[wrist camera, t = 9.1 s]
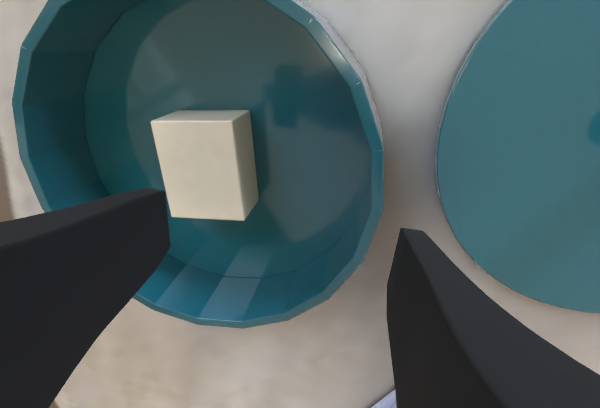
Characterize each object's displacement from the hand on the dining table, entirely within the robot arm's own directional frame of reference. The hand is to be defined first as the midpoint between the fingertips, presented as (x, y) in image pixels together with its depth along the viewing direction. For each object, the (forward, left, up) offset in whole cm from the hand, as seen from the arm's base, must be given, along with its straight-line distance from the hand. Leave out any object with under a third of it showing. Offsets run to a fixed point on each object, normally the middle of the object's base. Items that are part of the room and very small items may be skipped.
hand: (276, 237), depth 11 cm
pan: (-3, +4, -9) cm, 10 cm away
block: (-3, +4, -8) cm, 10 cm away
